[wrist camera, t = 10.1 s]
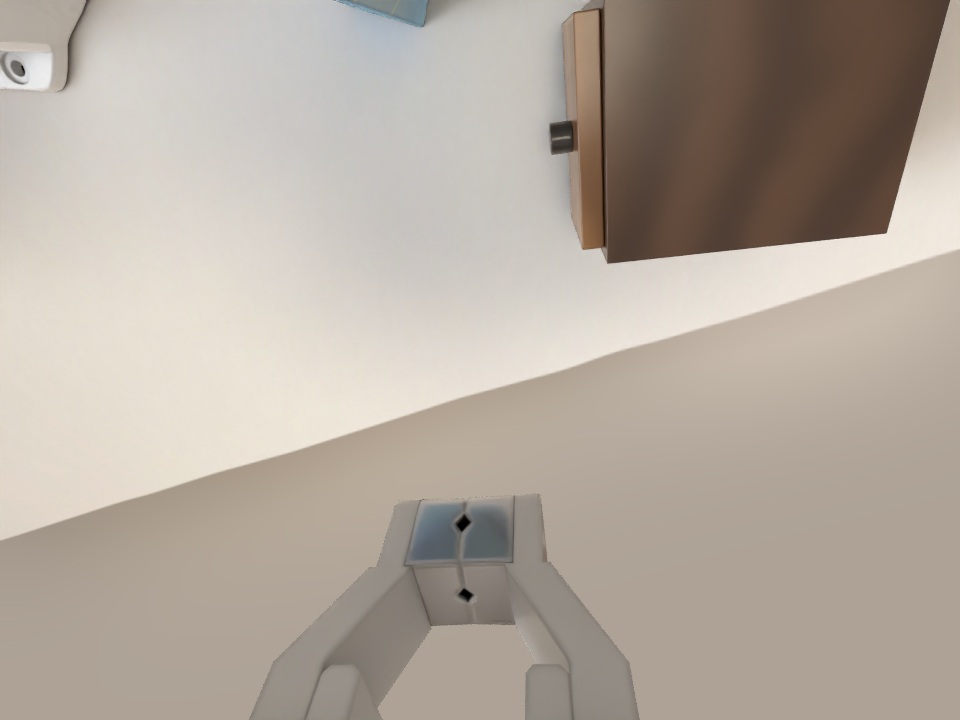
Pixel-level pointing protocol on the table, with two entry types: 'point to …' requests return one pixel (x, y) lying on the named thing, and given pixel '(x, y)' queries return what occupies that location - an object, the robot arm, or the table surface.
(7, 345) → the table surface
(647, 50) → the cabinet
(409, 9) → the gum box
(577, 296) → the table surface
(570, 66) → the wooden drawer
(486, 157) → the table surface
